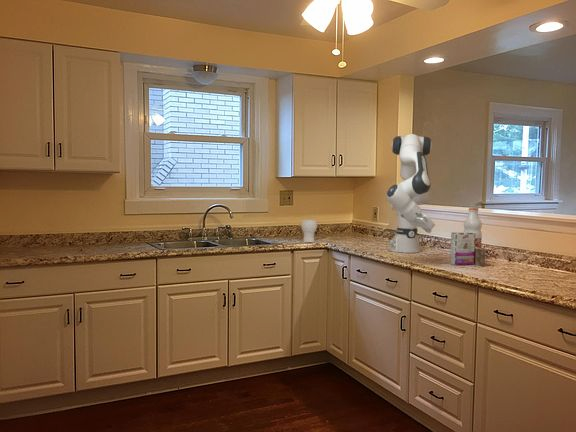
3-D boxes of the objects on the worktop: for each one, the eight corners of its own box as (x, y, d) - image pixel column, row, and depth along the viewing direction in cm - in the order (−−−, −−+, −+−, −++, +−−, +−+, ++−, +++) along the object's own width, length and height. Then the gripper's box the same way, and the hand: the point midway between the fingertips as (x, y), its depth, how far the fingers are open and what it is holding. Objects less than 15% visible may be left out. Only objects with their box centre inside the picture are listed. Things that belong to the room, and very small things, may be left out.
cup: (302, 243, 325) (302, 220, 324) (299, 241, 336) (300, 219, 335) (317, 243, 327) (318, 220, 326) (315, 241, 337) (315, 219, 336)
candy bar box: (468, 263, 251) (470, 231, 250) (474, 265, 246) (476, 232, 245) (449, 263, 249) (450, 232, 247) (455, 265, 244) (456, 233, 243)
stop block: (460, 260, 259) (461, 244, 258) (464, 260, 259) (464, 244, 259) (480, 266, 241) (481, 248, 241) (484, 266, 242) (485, 248, 241)
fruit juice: (472, 257, 271) (474, 207, 269) (484, 260, 262) (486, 208, 260) (458, 258, 267) (460, 207, 265) (470, 261, 259) (472, 208, 257)
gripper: (426, 209, 230) (444, 229, 233) (407, 206, 250) (423, 224, 253) (417, 219, 230) (435, 239, 233) (398, 214, 249) (415, 233, 253)
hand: (429, 231), depth 243 cm, fingers closed
